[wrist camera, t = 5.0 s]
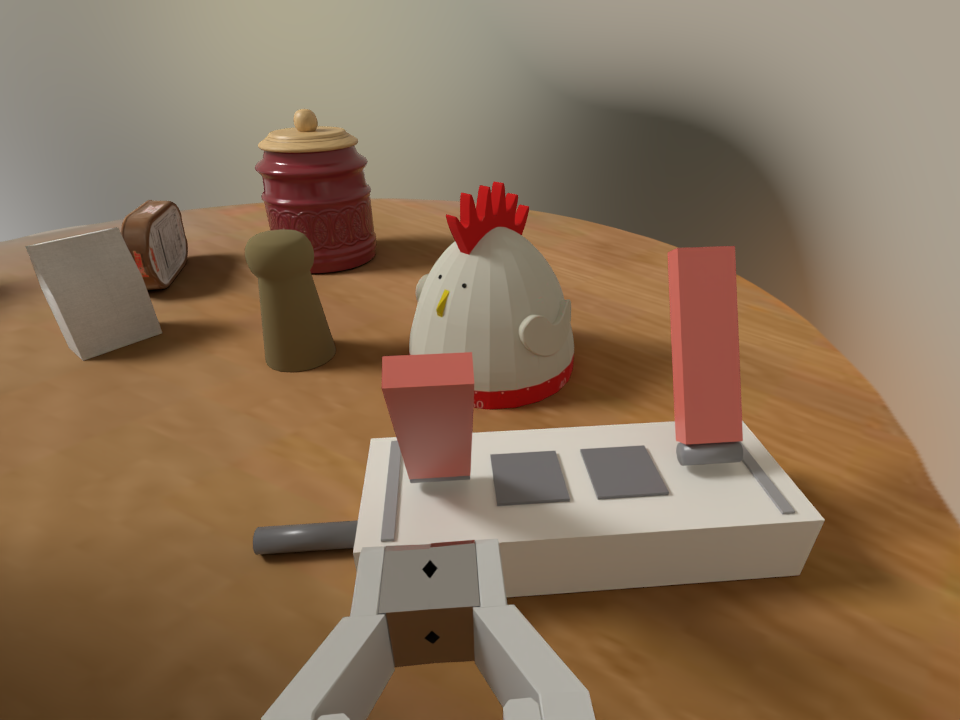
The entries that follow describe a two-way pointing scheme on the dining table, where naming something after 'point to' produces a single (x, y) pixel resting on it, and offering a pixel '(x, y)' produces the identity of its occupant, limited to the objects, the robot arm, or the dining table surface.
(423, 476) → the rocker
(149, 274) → the tin
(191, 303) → the dining table surface
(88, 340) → the grey rectangular block
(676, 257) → the rocker
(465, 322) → the kitchen timer
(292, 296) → the cork
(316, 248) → the canister
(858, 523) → the dining table surface
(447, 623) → the robot arm
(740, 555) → the power strip
